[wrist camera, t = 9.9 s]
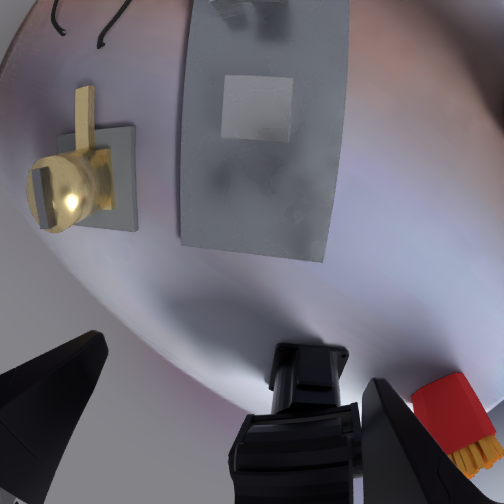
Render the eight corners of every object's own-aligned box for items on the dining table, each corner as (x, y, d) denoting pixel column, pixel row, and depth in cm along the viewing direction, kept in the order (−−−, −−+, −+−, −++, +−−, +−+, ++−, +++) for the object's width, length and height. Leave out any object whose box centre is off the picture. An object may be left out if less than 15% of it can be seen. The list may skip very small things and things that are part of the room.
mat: (138, 229, 21) (134, 232, 20) (68, 221, 22) (64, 224, 21) (135, 125, 17) (131, 126, 17) (61, 134, 18) (57, 135, 18)
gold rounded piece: (119, 211, 20) (71, 239, 14) (73, 210, 20) (26, 236, 15) (114, 80, 15) (59, 73, 10) (66, 94, 16) (13, 96, 11)
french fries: (406, 410, 26) (422, 501, 14) (403, 393, 25) (423, 494, 13) (470, 381, 23) (502, 464, 11) (473, 361, 22) (512, 451, 10)
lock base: (321, 257, 20) (328, 295, 15) (185, 240, 21) (157, 271, 16) (346, -3, 12) (360, -37, 7) (199, -8, 13) (173, -38, 8)
